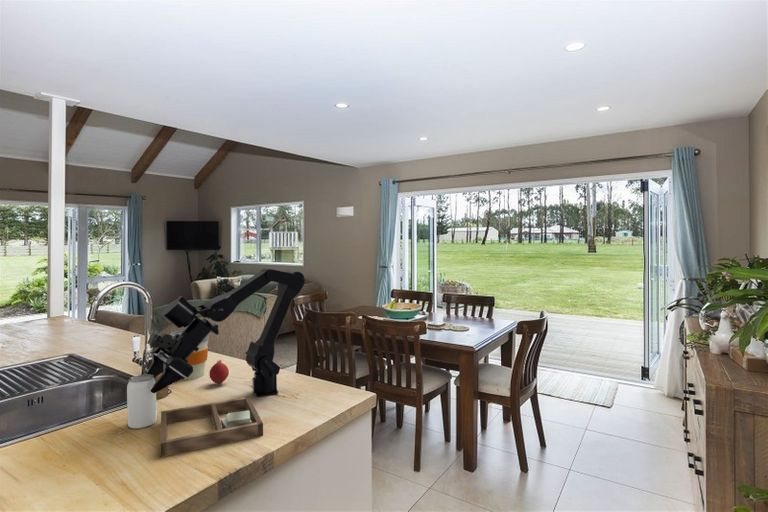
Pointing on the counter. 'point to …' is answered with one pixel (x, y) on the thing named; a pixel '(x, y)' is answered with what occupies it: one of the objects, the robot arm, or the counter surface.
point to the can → (141, 401)
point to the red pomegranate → (219, 372)
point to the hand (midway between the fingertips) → (147, 387)
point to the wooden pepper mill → (162, 392)
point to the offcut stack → (236, 419)
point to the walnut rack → (219, 434)
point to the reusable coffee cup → (197, 358)
